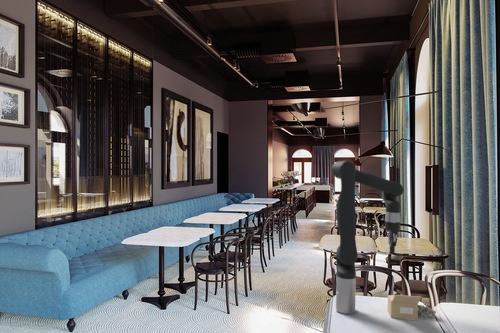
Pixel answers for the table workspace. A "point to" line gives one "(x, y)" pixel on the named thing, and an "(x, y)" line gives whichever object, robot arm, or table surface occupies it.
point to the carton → (402, 309)
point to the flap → (406, 299)
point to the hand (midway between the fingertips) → (392, 253)
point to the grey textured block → (423, 310)
